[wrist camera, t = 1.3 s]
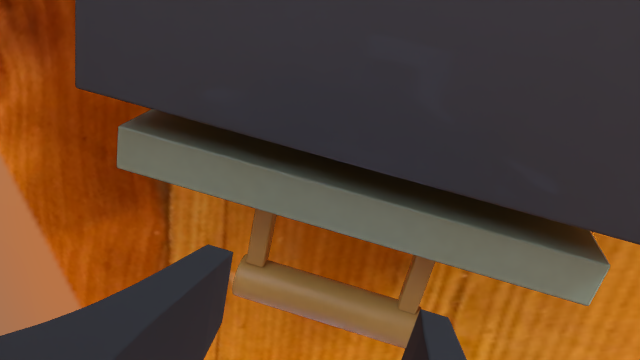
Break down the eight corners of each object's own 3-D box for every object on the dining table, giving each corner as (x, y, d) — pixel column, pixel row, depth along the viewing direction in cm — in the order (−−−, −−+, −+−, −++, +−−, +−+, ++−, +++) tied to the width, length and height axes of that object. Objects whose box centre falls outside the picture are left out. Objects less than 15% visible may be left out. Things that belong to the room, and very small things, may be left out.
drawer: (491, 297, 20) (515, 440, 14) (202, 211, 21) (110, 308, 15) (727, -238, 13) (990, -421, 7) (269, -319, 14) (142, -535, 8)
